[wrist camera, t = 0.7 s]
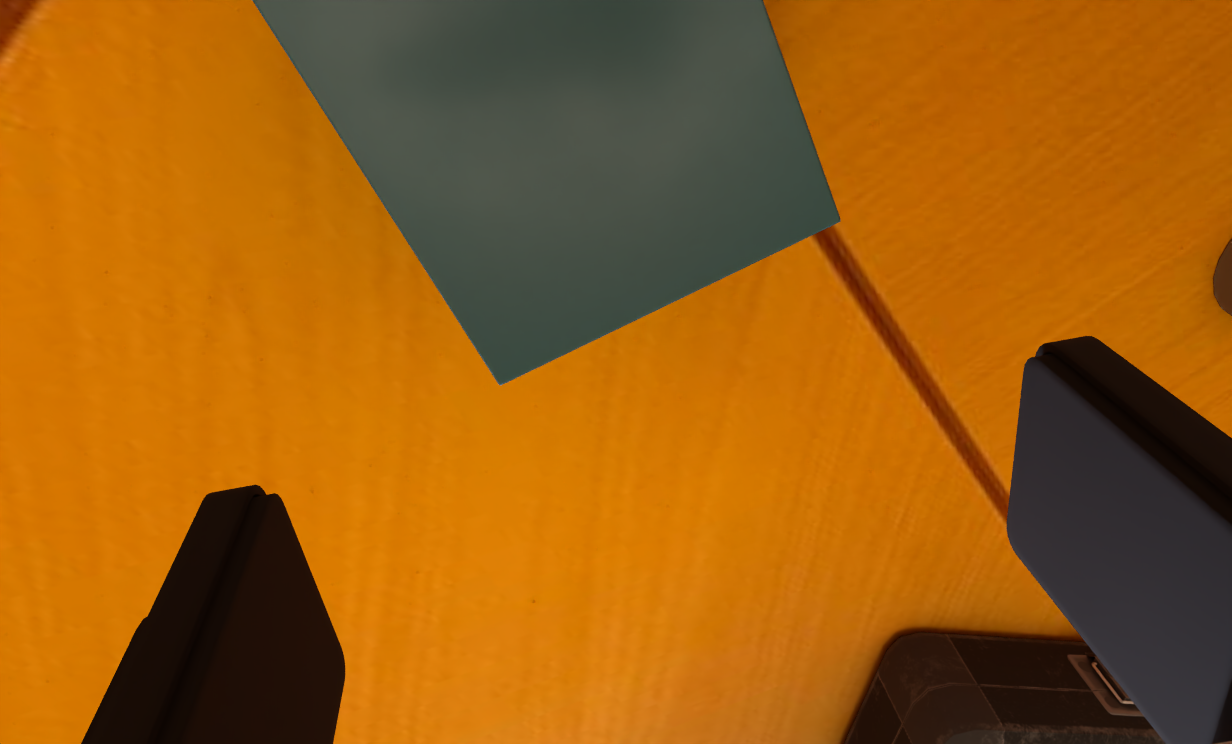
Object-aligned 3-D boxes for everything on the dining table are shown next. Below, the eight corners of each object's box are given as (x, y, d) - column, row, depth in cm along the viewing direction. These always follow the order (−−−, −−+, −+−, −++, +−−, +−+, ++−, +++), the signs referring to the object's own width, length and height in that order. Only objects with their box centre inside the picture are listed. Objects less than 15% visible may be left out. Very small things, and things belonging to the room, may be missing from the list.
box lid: (210, -80, 21) (130, -72, 17) (640, -325, 20) (685, -390, 15) (499, 374, 28) (500, 470, 24) (833, 213, 27) (904, 281, 22)
